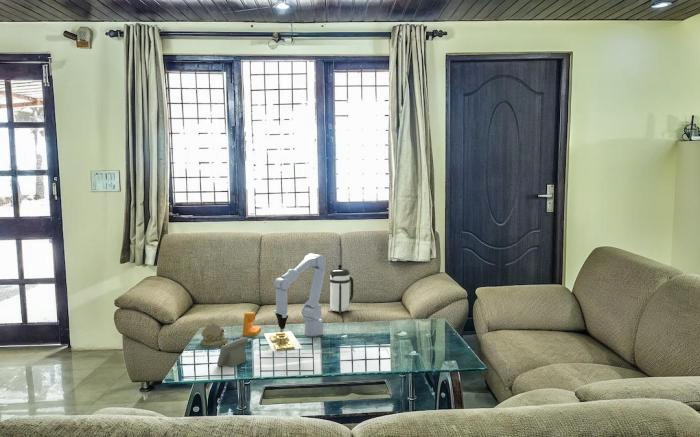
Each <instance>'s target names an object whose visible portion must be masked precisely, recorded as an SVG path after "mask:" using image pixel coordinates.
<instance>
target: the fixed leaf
mask: <svg viewBox="0 0 700 437" xmlns="http://www.w3.org/2000/svg"><path fill="white" fill-rule="evenodd" d="M274 347H275V349H276V351H275V352H279V350H281V351H289V350H288V349H291V350H296V349H295V347H294V345H293V344H292V342H288V336H286V335H278V336H276V343H275V344H274Z"/></svg>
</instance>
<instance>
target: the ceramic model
mask: <svg viewBox="0 0 700 437" xmlns="http://www.w3.org/2000/svg"><path fill="white" fill-rule="evenodd" d="M225 332H226V331H225V329H224V327H221V326H220V325H218V324H216V323H211V324H207V325H206V327H205V328H204V329H203V330H202V331H201V337H202V339H201V340H200V344H201V345H202V346H210V347H211V346H212V347H219V346H220V347H222V346H223V345H224V344H227V343H228V340H229V339H228V337H225V336H224V335H225ZM221 345H222V346H221Z"/></svg>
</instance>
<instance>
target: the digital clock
mask: <svg viewBox="0 0 700 437" xmlns="http://www.w3.org/2000/svg"><path fill="white" fill-rule="evenodd" d="M248 342H249V338H248V337H247V336H244V337H243V336H242V337H241V338H238V339H235V340H232V341H229V342H227V343H226V344H225V345H222V346H221V348H220V352H219V356H218V360H217V362H216V364H217V367H218V368H220V367H224V366H226V367H230V368H234V367H236V366H239V365H241V364H243V363H244V364H245V362H247V351H246V349H247V345H248Z"/></svg>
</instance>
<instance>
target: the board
mask: <svg viewBox="0 0 700 437" xmlns="http://www.w3.org/2000/svg"><path fill="white" fill-rule="evenodd" d="M284 333H285V334H287V336H288V337H289V340H288V342H292V344H293V345H294V347H295V349H294V350H299V349H303V347H302V345H301V344H300V342H299V340H298V339H297V337H296V336H295V335H294V333H293V332H292V330H289V331H284ZM263 335H264V337H265V339H266V342H267V343H268V345H269V348H270V349H271V351H272V352H277V351H276V349H275V347H274V344H275V343H276V342H272V341H271V339H270V335H276V332H269V333H268V332H267V333H266V332H265V333H263ZM289 350H291V351H292V349H288V350H287V351H289ZM279 351H282V350H279ZM279 351H278V352H279Z"/></svg>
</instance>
